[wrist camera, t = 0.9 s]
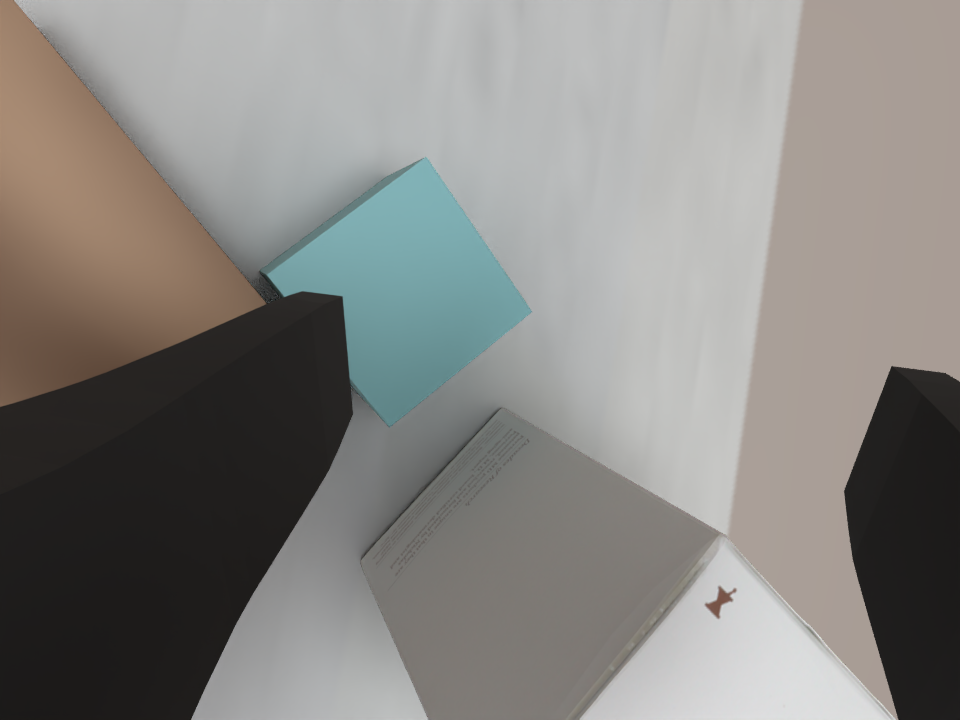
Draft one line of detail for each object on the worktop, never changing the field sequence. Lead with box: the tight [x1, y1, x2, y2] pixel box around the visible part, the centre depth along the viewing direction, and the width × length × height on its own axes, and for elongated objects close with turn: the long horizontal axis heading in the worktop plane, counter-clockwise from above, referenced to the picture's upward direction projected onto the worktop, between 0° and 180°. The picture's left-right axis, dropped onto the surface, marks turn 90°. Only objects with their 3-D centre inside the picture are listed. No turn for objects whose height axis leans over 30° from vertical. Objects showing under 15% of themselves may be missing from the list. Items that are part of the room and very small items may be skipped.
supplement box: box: [361, 408, 895, 720], centre depth 21 cm, size 7×7×13 cm
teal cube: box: [260, 157, 532, 427], centre depth 22 cm, size 5×5×5 cm
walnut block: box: [0, 0, 267, 407], centre depth 19 cm, size 10×10×4 cm
